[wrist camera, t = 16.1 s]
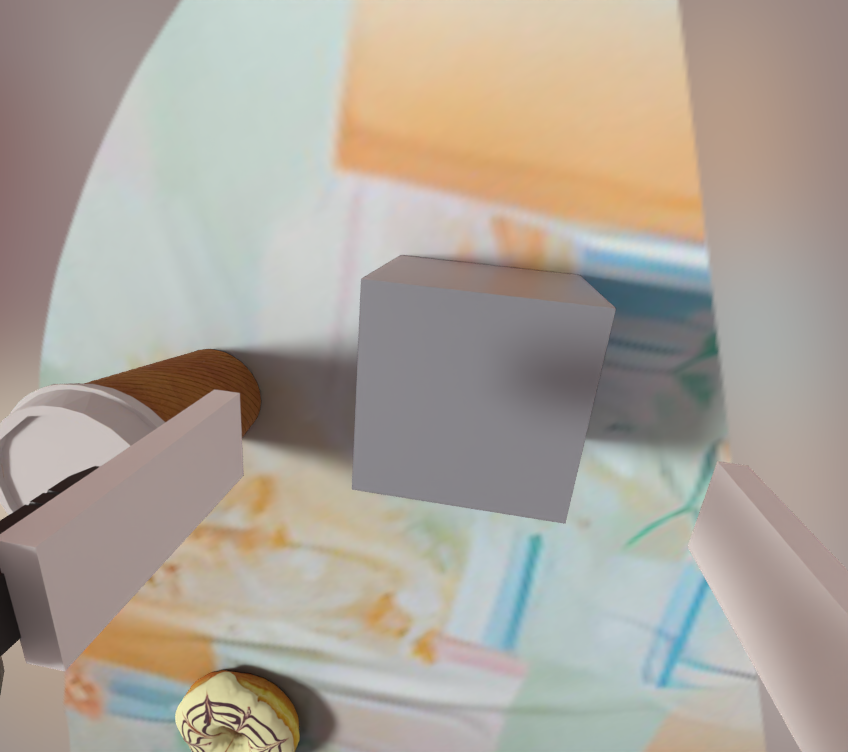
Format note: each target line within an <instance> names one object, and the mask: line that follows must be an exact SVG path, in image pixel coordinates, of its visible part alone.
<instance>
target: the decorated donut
mask: <svg viewBox="0 0 848 752" xmlns="http://www.w3.org/2000/svg"><path fill="white" fill-rule="evenodd" d="M175 718H176V724H177V727H178V729H179V731H180V733H181V735H182V737H183V739H184V740H185V742H186V743H187V744H188V745H189V747H190V749H191V751H192V752H295V750H296V747H297V745H298V742H299V739H300V734H299V720H298V715H297V713H296V710H295V708H294V706H293V704H292V703H291V701H290V700H289V698H288V697H287V696H286V695H285V694H284V692H283V691H282V690H280V689H279V688H278V687H277V685H275V684H274V683H272V682H269V681H268V680H266V679H265V678H262V677H259V676H254V675H253V674H249V673H239V672H230V671H226V670H221V671H218V672H212V673H209V674H207V675H205V676H204V677H202V678H200V679H198V680H197V681H196V682H195V683H194V684H193V685H192V686H191V688H190V690H188V692H187V694H186V695H185V697H184V698H183V700H182V702H181V703H180V704H179V706H178V708H177V711H176V715H175Z"/></svg>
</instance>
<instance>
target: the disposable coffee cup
mask: <svg viewBox="0 0 848 752" xmlns="http://www.w3.org/2000/svg"><path fill="white" fill-rule="evenodd" d="M214 389H215V390H222V391H229V392H236V393H240V409H241V430H242V438H243V436H244V435H245V434H246V432H247V431H248V429H249V428H250V427H251V425H252V424H253V423H254V422H255V420H256V418H257V417H258V414H259V411H260V406H261V397H260V391H259V387H258V384H257V382H256V380H255V379H254V377H253V375H252V373H251V372H250V371H249V370H248V368H247V367H246V366H245V365H244V364H243V363H242V362H241V361H239V360H238V359H236V358H235V357H233V356H231V355H230V354H228V353H226V352H222V351H218V350H213V349H203V350H197V351H194V352H191V353H188V354H184V355H181V356H177V357H174V358H170V359H167V360H163V361H160V362H156V363H153V364H150V365H146V366H143V367H139V368H136V369H132V370H129V371H126V372H122V373H119V374H115V375H112V376H109V377H105V378H101V379H98V380H94V381H91V382H88V383H84V384H80V383H75V384H53V385H50V386H46V387H43V388H40V389H38V390H36V391H34V392H32V393H29V394H28V395H27V396H26V397H24V398H23V399H22V400H21V401H19V402H18V404H17V405H16V406H15V408H14V409H13V410H12V411H11V413H10V415H9V416H7V417H6V418H5V419H4V420H3V421H2V422H1V423H0V504H1V505H2V506H3V508H4V509H5V511H6V512H7V514H8V515H10V514H11V513H13V512H14V511H16V510H18V509H19V508H21V507H22V506H24V505H29V503H30V501H31V500H33V499H34V498H36V497H38V496H39V495H41V494H42V493H47V490H48V489H50V488H51V487H53V486H55V485H56V484H58V483H59V482H61V481H62V480H64V479H65V478H67V477H68V476H71V475H73V474H76V473H78V472H81V471H83V470H86V469H88V468H91V467H93V466H99V467H100V466H102V465H103V464H105V463H106V462H108V461H109V460H111V459H112V458H114V457H115V456H117V455H118V454H120V453H121V452H123V451H124V450H126V449H127V448H128V447H130V446H131V445H133V444H134V443H136V442H137V441H139V440H140V439H142V438H143V437H145V436H146V435H148V434H149V433H151V432H152V431H154V430H155V429H157V428H158V427H160V426H161V425H163V424H164V423H165V422H167V421H168V420H170V419H171V418H173V417H174V416H176V415H177V414H179V413H180V412H182V411H183V410H185V409H186V408H188V407H189V406H191V405H192V404H194V403H195V402H197V401H198V400H200V399H201V398H203V397H204V396H205V395H207V394H208V393H210V392H211V391H213V390H214Z"/></svg>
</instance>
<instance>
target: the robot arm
mask: <svg viewBox="0 0 848 752" xmlns="http://www.w3.org/2000/svg"><path fill="white" fill-rule="evenodd" d="M243 476H244V472H243V451H242V430H241V409H240V393H236V392H229V391H222V390H215V389H214V390H213V391H211V392H210V393H208V394H207V395H205V396H204V397H203V398H201V399H200V400H198V401H197V402H195V403H194V404H192V405H191V406H189V407H188V408H186V409H185V410H183V411H182V412H180V413H179V414H177V415H176V416H174V417H173V418H171V419H170V420H168V421H167V422H165V423H164V424H163V425H161V426H160V427H158V428H157V429H155V430H154V431H152V432H151V433H149V434H148V435H146V436H145V437H143V438H142V439H140V440H139V441H137V442H136V443H134V444H133V445H131V446H130V447H128V448H127V449H126V450H124V451H123V452H121V453H120V454H118V455H117V456H115V457H114V458H112V459H111V460H109V461H108V462H106V463H105V464H103V465H102V466H100V467H99V466H93V467H91V468H88V469H86V470H83V471H81V472H78V473H76V474H73V475H71V476H68V477H67V478H65V479H64V480H62V481H61V482H59V483H58V484H56V485H55V486H53V487H51V488H50V489H48V490H47V493H42V494H41V495H39V496H38V497H36V498H34V499H33V500H31V501H30V503H29V505H24V506H22V507H21V508H19V509H18V510H16V511H14V512H13V513H11V514H10V515H8V516H7V517H5V518H4V519H2V520H1V521H0V693H1V687H2V681H3V675H4V666H3V661H2V658H1V655H3V654H4V653H5V652H6V651H7V650H8V649H9V648H10V647H11V646H12V645H13V644H14V643H16V642H17V641H18V640H19V639H20V642H21V646H22V649H23V653H24V656H25V660H26V663H28V664H33V665H38V666H42V667H47V668H52V669H57V670H61V671H66V670H67V668H68V667H69V666H70V665H71V664H72V663H73V662H74V661H75V660H76V659H77V658H78V656H79V655H80V654H81V653H82V652H83V651H84V650H85V649H86V648H87V647H88V645H89V644H90V643H91V642H92V641H93V640H94V639H95V638H96V637H97V636H98V634H99V633H100V632H101V631H102V630H103V629H104V628H105V627H106V626H107V625H108V624H109V622H110V621H111V620H112V619H113V618H114V617H115V616H116V615H117V614H118V613H119V611H120V610H121V609H122V608H123V607H124V606H125V605H126V604H127V603H128V602H129V601H130V599H131V598H132V597H133V596H134V595H135V594H136V593H137V592H138V591H139V590H140V588H141V587H142V586H143V585H144V584H145V583H146V582H147V581H148V580H149V579H150V578H151V576H152V575H153V574H154V573H155V572H156V571H157V570H158V569H159V568H160V567H161V565H162V564H163V563H164V562H165V561H166V560H167V559H168V558H169V557H170V556H171V555H172V553H173V552H174V551H175V550H176V549H177V548H178V547H179V546H180V545H181V544H182V542H183V541H184V540H185V539H186V538H187V537H188V536H189V535H190V534H191V533H192V531H193V530H194V529H195V528H196V527H197V526H198V525H199V524H200V523H201V522H202V521H203V519H204V518H205V517H206V516H207V515H208V514H209V513H210V512H211V511H212V510H213V508H214V507H215V506H216V505H217V504H218V503H219V502H220V501H221V500H222V499H223V498H224V496H225V495H226V494H227V493H228V492H229V491H230V490H231V489H232V488H233V487H234V485H235V484H236V483H237V482H238V481H239V480H240V479H241V478H242V477H243ZM688 548H689V550H690V552H691V554H692V556H693V557H694V559H695V561H696V563H697V565H698V566H699V568H700V570H701V572H702V574H703V575H704V577H705V579H706V581H707V583H708V584H709V586H710V588H711V590H712V592H713V593H714V595H715V597H716V599H717V601H718V602H719V604H720V606H721V608H722V610H723V611H724V613H725V615H726V617H727V619H728V620H729V622H730V624H731V626H732V628H733V629H734V631H735V633H736V635H737V637H738V638H739V640H740V642H741V644H742V646H743V647H744V649H745V651H746V653H747V655H748V656H749V658H750V660H751V662H752V664H753V665H754V667H755V669H756V671H757V673H758V674H759V676H760V678H761V680H762V682H763V683H764V685H765V687H766V689H767V691H768V692H769V694H770V696H771V698H772V700H773V702H774V703H775V705H776V707H777V709H778V710H779V712H780V714H781V716H782V718H783V719H784V721H785V723H786V725H787V727H788V728H789V730H790V732H791V734H792V736H793V738H794V739H795V741H796V743H797V745H798V747H799V748H800V750H801V752H848V570H847V569H846V568H845V567H844V566H843V565H842V564H841V563H840V562H839V561H838V560H837V558H836V557H835V556H834V555H833V554H832V553H831V552H830V551H829V550H828V549H827V548H826V547H825V546H824V545H823V544H822V543H821V542H820V541H819V540H818V538H817V537H815V535H814V534H813V533H812V532H811V531H810V530H809V529H808V528H807V527H806V526H805V525H804V524H803V523H802V522H801V521H800V520H799V519H798V517H797V516H796V515H795V514H794V513H793V512H792V511H791V510H790V509H789V508H788V507H787V506H786V505H785V504H784V503H783V502H782V501H781V500H780V499H779V498H778V496H777V495H776V494H775V493H774V492H773V491H772V490H771V489H770V488H769V487H768V486H767V485H766V484H765V483H764V482H763V481H762V480H761V479H760V478H759V477H758V476H757V475H756V473H755V472H754V471H753V470H752V469H751V468H750V467H749V466H747V465H740V464H733V463H726V462H719V461H717V464H716V467H715V469H714V472H713V475H712V478H711V481H710V484H709V487H708V490H707V492H706V495H705V498H704V501H703V504H702V507H701V510H700V512H699V515H698V518H697V521H696V524H695V527H694V530H693V532H692V535H691V538H690V541H689V544H688Z"/></svg>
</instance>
